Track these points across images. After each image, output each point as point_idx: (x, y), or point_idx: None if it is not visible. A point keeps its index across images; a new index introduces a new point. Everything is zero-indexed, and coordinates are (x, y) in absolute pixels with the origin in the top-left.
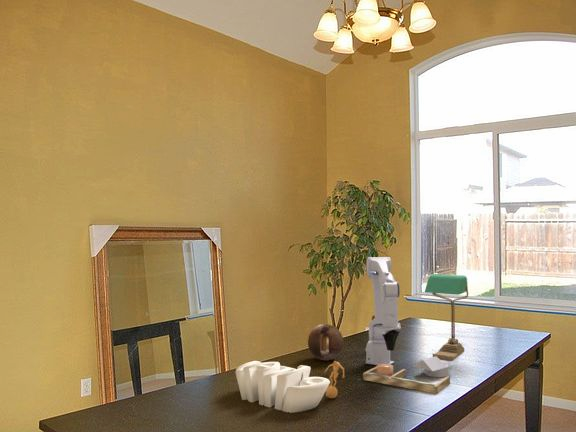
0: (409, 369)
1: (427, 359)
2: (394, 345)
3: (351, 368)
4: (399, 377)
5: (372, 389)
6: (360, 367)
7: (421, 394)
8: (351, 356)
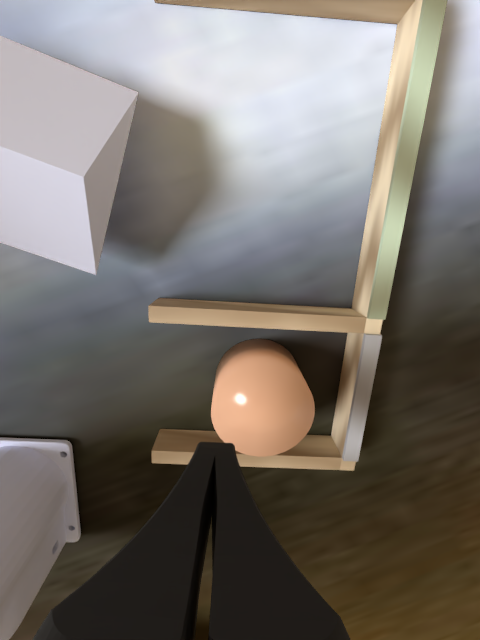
0: (27, 323)
1: (26, 146)
2: (198, 469)
3: None
4: (253, 305)
5: (473, 358)
6: None
7: (469, 94)
8: None
